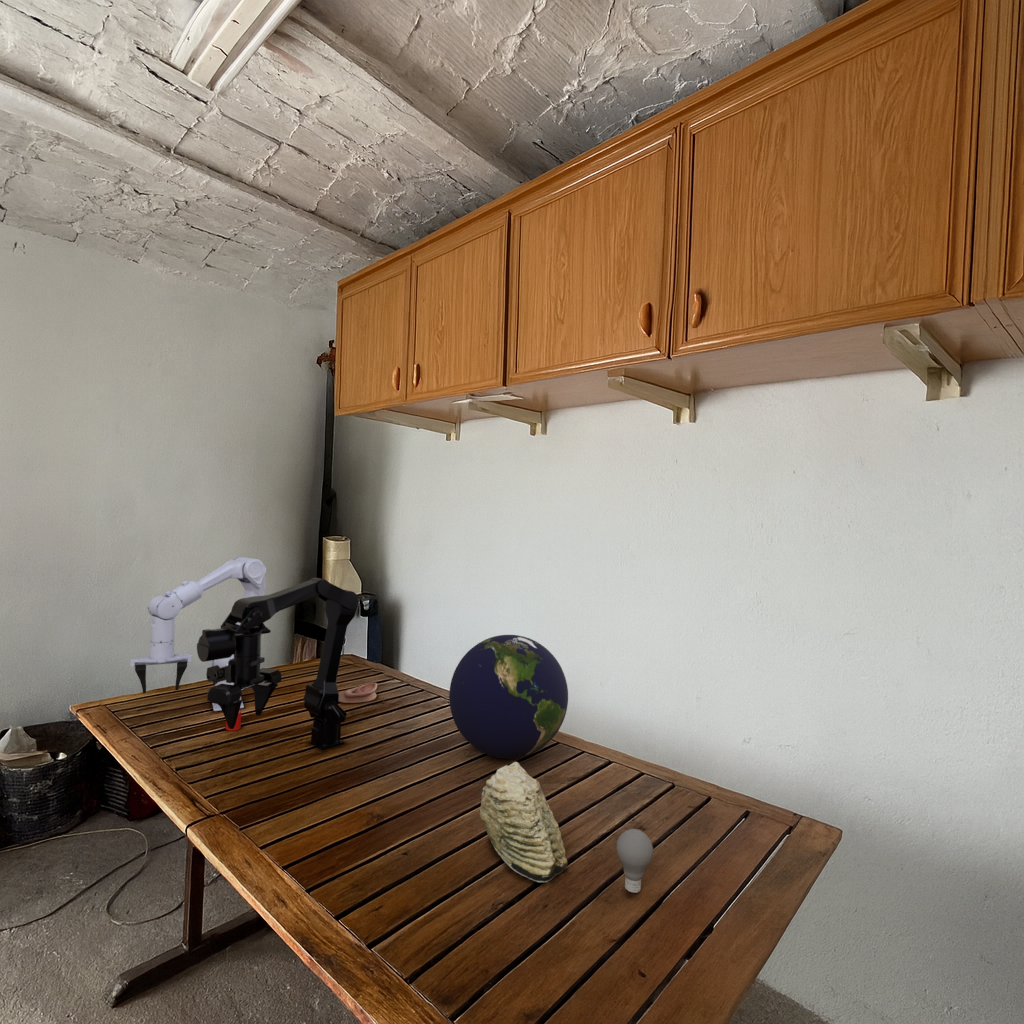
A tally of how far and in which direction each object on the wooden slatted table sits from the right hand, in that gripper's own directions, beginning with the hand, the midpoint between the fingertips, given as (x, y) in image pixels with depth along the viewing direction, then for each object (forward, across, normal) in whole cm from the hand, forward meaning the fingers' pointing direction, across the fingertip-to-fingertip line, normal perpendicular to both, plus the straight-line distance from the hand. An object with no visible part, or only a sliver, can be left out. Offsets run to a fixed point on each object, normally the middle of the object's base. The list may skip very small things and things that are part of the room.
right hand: (245, 721), depth 145 cm
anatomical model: (+11, -55, -2) cm, 56 cm away
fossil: (+11, +14, +69) cm, 71 cm away
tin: (+11, -20, -19) cm, 30 cm away
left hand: (+2, -16, -40) cm, 43 cm away
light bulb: (+11, +17, +90) cm, 92 cm away
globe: (+11, -30, +54) cm, 63 cm away
